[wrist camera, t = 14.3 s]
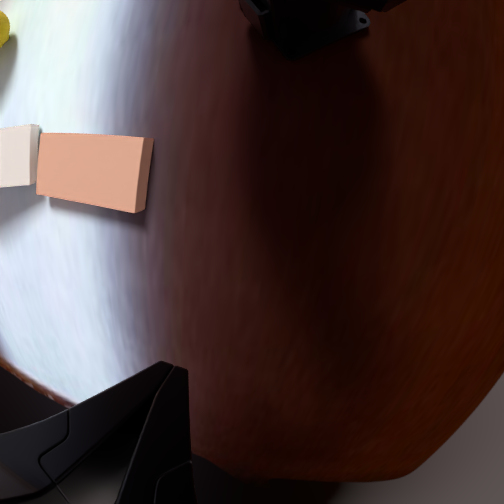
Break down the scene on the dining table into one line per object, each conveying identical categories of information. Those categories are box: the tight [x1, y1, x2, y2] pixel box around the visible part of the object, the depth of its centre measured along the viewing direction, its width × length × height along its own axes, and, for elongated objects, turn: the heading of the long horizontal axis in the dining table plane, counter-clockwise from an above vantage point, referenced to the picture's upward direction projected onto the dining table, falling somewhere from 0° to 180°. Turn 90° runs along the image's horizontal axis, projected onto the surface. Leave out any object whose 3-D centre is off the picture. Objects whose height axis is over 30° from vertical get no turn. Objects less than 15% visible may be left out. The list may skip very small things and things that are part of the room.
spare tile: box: [36, 133, 154, 213], centre depth 19 cm, size 2×5×10 cm
